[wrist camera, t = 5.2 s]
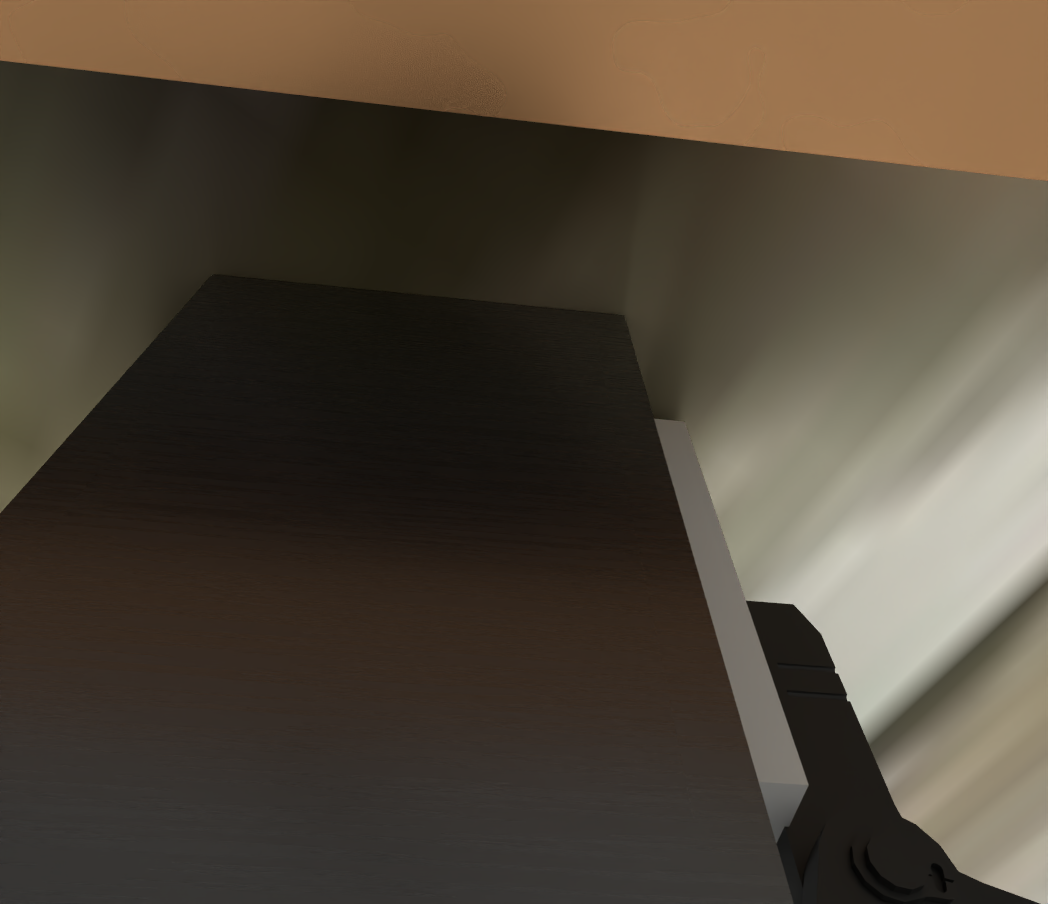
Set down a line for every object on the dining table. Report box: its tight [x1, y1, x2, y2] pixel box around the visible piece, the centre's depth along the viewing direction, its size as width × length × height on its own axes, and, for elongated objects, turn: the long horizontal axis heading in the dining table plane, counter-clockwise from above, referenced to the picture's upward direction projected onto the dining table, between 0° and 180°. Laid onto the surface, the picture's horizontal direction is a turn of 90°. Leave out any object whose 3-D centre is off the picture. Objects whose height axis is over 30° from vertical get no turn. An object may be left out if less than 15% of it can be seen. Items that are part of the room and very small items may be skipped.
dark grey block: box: [0, 275, 794, 904], centre depth 10 cm, size 6×6×9 cm
